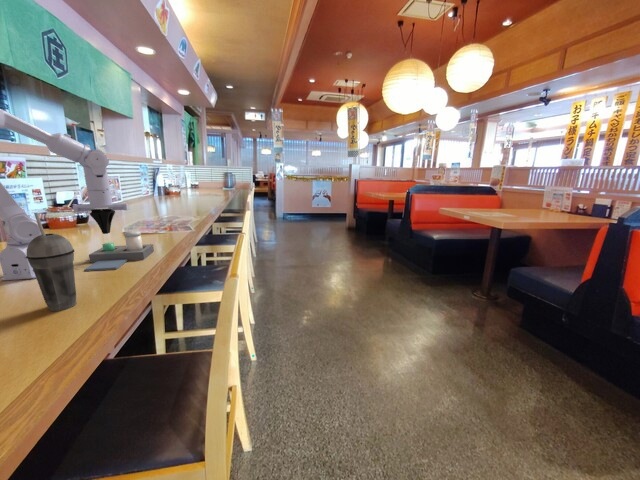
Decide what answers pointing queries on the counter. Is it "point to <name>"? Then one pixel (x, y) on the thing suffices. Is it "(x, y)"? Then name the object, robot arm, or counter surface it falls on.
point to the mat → (106, 265)
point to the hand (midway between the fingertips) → (106, 233)
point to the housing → (121, 253)
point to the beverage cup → (53, 268)
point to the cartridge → (133, 240)
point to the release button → (108, 247)
